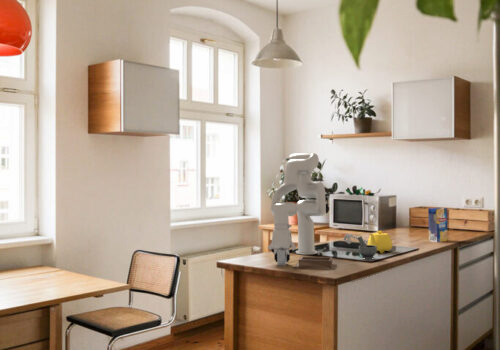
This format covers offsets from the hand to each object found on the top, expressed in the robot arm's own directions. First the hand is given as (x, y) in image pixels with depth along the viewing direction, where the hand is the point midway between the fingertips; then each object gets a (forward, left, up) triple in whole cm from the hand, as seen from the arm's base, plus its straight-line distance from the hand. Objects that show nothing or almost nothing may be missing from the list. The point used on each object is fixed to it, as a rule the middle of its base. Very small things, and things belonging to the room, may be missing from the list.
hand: (282, 261), depth 271 cm
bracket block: (0, 0, -2) cm, 2 cm away
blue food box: (-100, +89, -2) cm, 134 cm away
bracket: (-78, +38, -2) cm, 87 cm away
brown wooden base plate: (+4, +18, -2) cm, 19 cm away
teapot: (-48, +50, -2) cm, 69 cm away
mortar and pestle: (-23, +43, -2) cm, 49 cm away
